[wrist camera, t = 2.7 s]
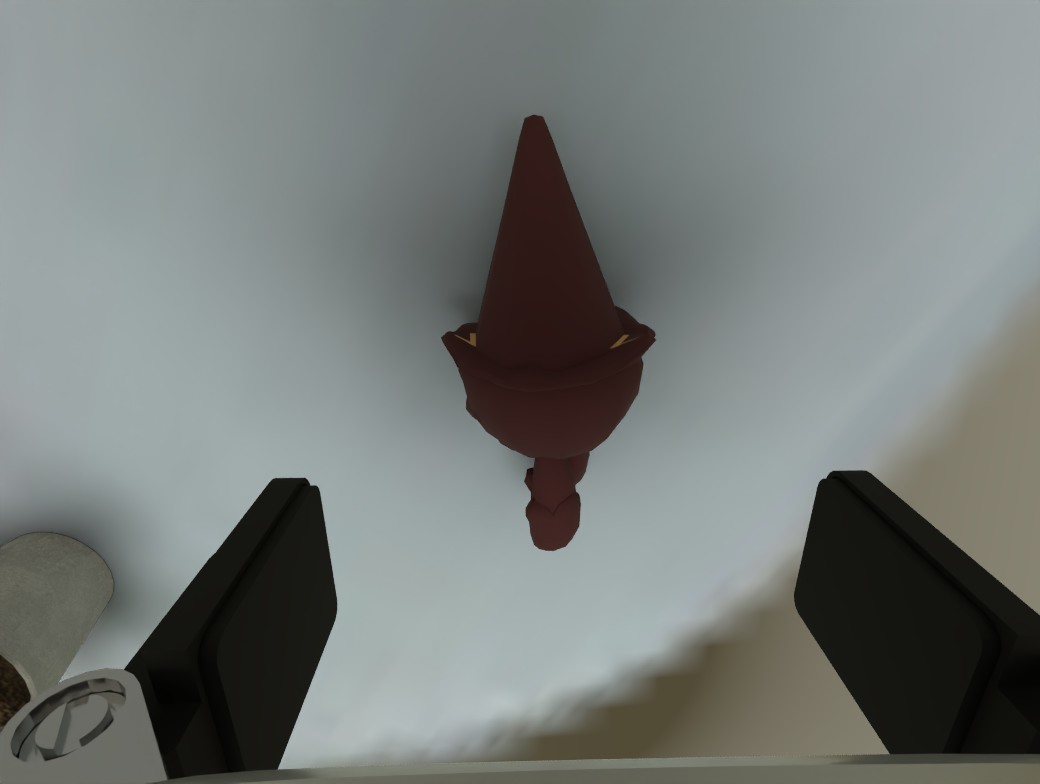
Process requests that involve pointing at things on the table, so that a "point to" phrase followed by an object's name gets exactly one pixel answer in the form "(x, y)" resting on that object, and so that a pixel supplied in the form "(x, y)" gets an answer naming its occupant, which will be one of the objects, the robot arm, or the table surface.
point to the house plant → (45, 612)
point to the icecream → (548, 341)
